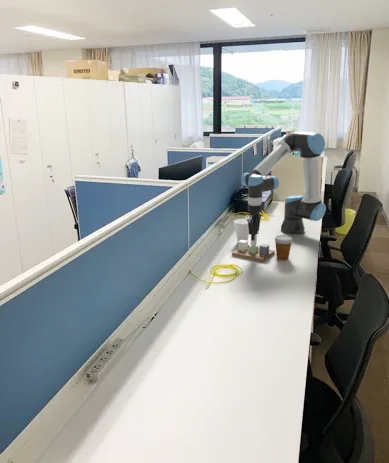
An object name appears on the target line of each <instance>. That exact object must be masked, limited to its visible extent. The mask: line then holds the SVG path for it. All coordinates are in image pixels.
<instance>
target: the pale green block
mask: <svg viewBox="0 0 389 463" xmlns="http://www.w3.org/2000/svg"><path fill="white" fill-rule="evenodd" d="M258 247H259V244H256V246H252V245H251V244H250V246H249V252H250V253H255V254H256V253H257V252H258Z"/></svg>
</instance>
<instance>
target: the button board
mask: <svg viewBox="0 0 389 463" xmlns="http://www.w3.org/2000/svg"><path fill="white" fill-rule="evenodd" d="M250 245H251V244H250ZM250 245H249V244H248V249H247V250H245V251H241V250H238V248H236V249H235V250H233V251H232V252H231V256H232V257H237V258H242V259H246V260H249V261H255V262H258V263H265V262H266V261H267V260H268V259H270V258H271V257H272V256H275V252H276V249H275V250H273V249H270V248H269V254H268V255H266V256H264V255H260V254H259V246H258V252H257V253H256V254H255V253H250V252H249V246H250Z"/></svg>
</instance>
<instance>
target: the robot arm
mask: <svg viewBox="0 0 389 463" xmlns="http://www.w3.org/2000/svg"><path fill="white" fill-rule="evenodd" d="M325 148H326V141H325V138H324V136H323V135H322V134H321V133H320V132H319V133H318V132H315V131H294V132H292V133H289V134H288V135H286V136H285V137H283V138H282V139H281V140H280V141H279V142H278V143H277V145H276V147H275V148H274V149H273V150H271V151H270V153H269V154H268V155H267V156H266V157H264V159H263V160H261V161H260V162H259V163H258V164H257V165H256V166H255V167H254V168H253V169H252V170H251V171H250V172H244V173H243V174H242V175H241V178H240V182H241V184H242V185H243V186H245V187H247V189H248V190H247V192H248V193H247V212H249V218H247V221H248V228H249V235H250V245H252V246H256V245H257V241H258V240H257V238H258V237H257V236H258V235H259V233H260V225H261V219H262V214H261V212H262V211H263V205H262V204H263V193H265V192H270V191H273V190H277V188H279V186H280V182H279V178H278V177H277V176H274V175H269V176H267V175H268V174H269V173H270V172H271V171H272V170H273V169H274V168H275V167H276V166H277V165H278V164H279V163H280V162H281V161H282V160H283V159H284V158H285V157H286V156H289V155H291V154H292V153H295V152H298V153H299V157H300V158H301V159H302V169H303V170H302V171H303V173H302V174H303V195H299V194H298V195H296V194H295V195H289V196H287V197H285V200H284V216H283V221H282V224H281V226H280V231H281V232H283V233H285V234H289V235H298V234H303V233H304V232H305V224H304V220H303V219H305V220H309V221H314V222H318V221H320V220H321V219H323V217H324V216H325V214H326V211H327V207H326V204H325V203H323V202H322V197H321V196H320V191H319V190H320V189H319V188H320V187H319V158H320V157H321V154H322V153H323V152H324V151H325Z"/></svg>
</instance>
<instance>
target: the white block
mask: <svg viewBox="0 0 389 463" xmlns="http://www.w3.org/2000/svg"><path fill="white" fill-rule="evenodd" d="M248 245H249V240H248V241H246V240H240V241H239V242H238V243H237V246H238V248H237V249H238V250H241V251H245V250H247V249H248Z"/></svg>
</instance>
